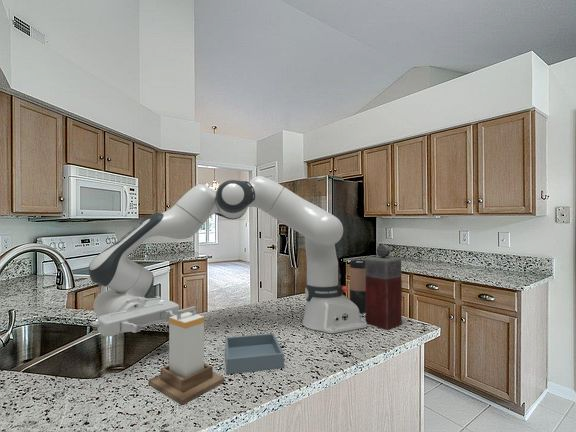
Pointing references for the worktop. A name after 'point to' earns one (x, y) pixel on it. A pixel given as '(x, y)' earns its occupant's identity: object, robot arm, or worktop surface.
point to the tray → (253, 353)
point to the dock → (186, 383)
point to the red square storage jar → (383, 290)
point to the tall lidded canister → (186, 343)
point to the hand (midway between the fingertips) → (156, 323)
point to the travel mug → (358, 284)
